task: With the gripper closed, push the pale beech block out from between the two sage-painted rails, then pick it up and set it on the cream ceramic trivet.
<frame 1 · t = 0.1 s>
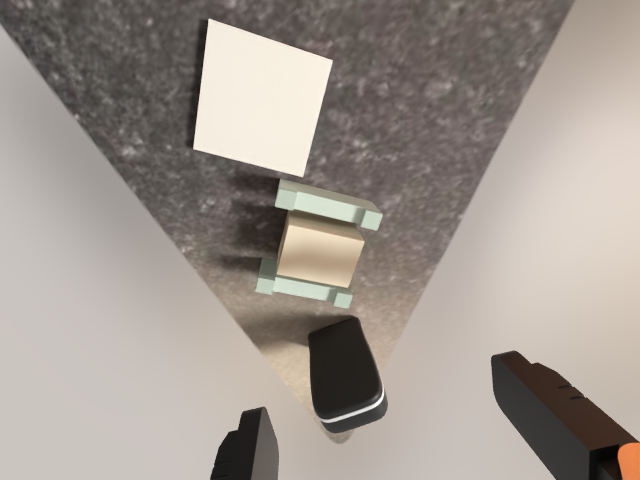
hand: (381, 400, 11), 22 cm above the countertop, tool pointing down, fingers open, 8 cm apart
rails: (313, 237, 32), on the countertop
block: (315, 237, 33), on the countertop
trivet: (261, 106, 27), on the countertop
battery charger: (336, 334, 38), on the countertop
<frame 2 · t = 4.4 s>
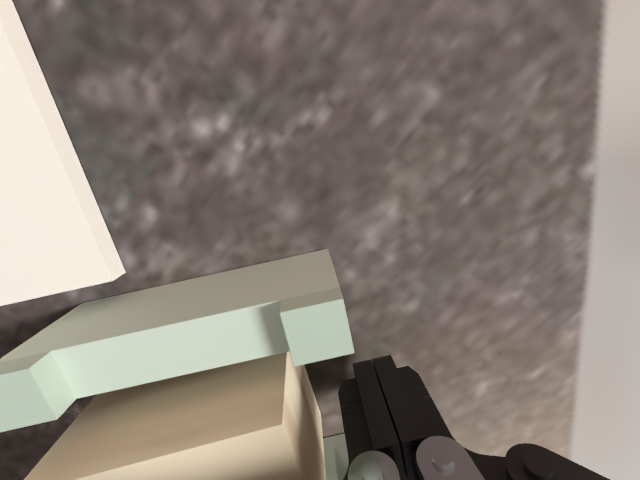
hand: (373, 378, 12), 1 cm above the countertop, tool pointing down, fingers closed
rails: (243, 387, 13), on the countertop
block: (226, 390, 13), on the countertop, touching gripper
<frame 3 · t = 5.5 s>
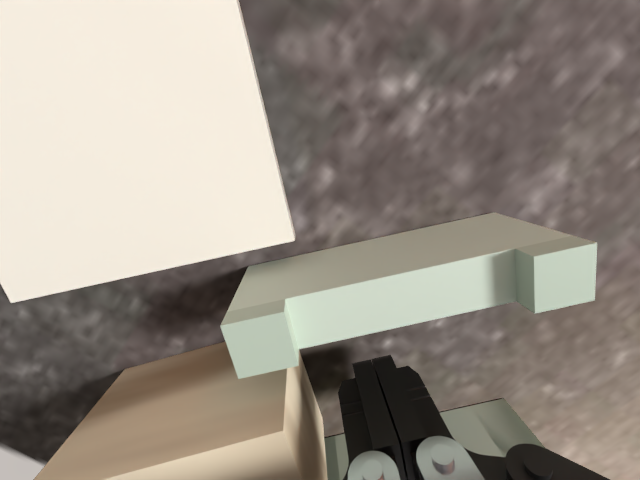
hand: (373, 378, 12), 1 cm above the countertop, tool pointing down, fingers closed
rails: (390, 354, 13), on the countertop
block: (228, 395, 13), on the countertop, touching gripper
trivet: (110, 122, 10), on the countertop
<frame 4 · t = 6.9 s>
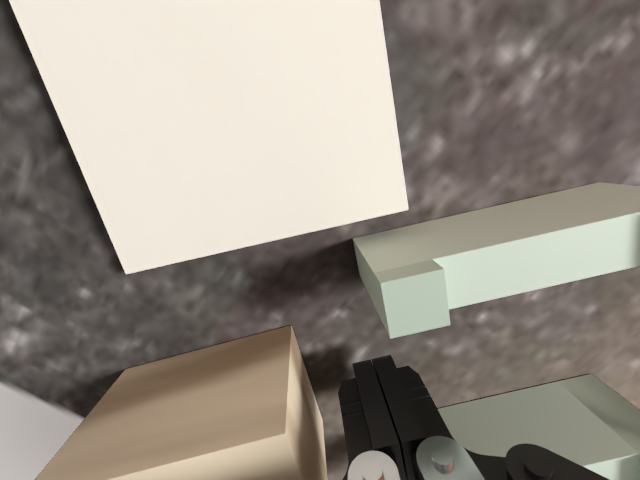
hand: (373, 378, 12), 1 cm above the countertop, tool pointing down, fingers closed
rails: (484, 328, 13), on the countertop
block: (228, 396, 13), on the countertop, touching gripper
trivet: (229, 91, 10), on the countertop
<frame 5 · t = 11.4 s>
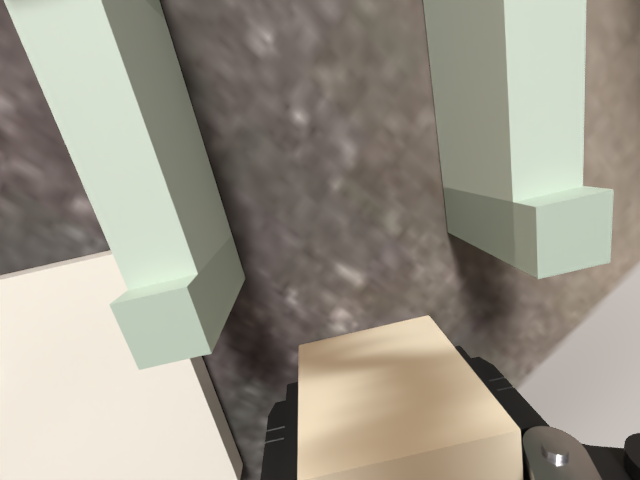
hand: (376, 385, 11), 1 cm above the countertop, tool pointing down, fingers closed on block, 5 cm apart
rails: (316, 111, 9), on the countertop
block: (379, 404, 12), on the countertop, touching gripper
trivet: (74, 395, 11), on the countertop
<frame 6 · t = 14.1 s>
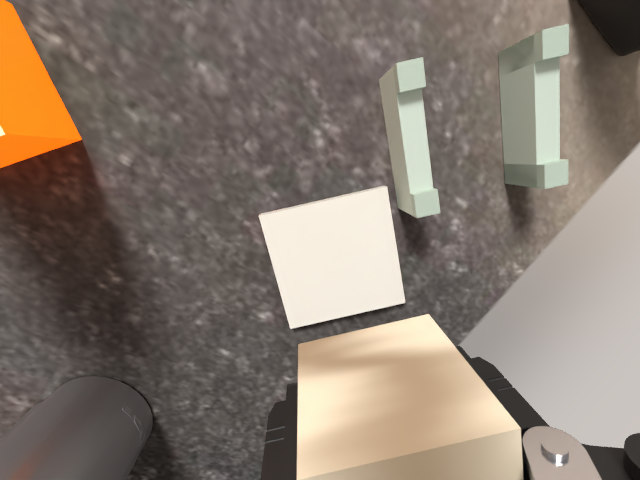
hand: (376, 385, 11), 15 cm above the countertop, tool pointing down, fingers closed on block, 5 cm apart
rails: (455, 132, 23), on the countertop
block: (379, 403, 12), point 14 cm above the countertop, touching gripper
orange juice: (1, 93, 21), on the countertop
trivet: (335, 258, 25), on the countertop
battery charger: (609, 4, 22), on the countertop
when the fingers open (2 cm above the countertop, at t = 16.7 s): block stays where it is, resting on trivet.
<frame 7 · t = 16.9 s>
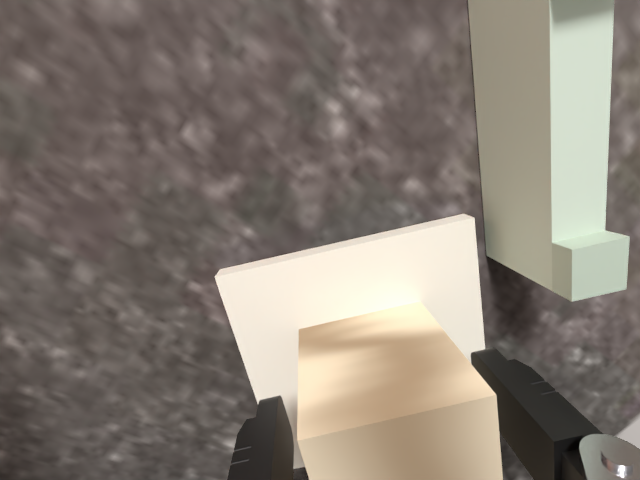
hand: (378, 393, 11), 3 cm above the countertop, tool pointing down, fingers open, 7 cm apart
rails: (613, 107, 12), on the countertop
block: (374, 385, 13), point 1 cm above the countertop, touching trivet
trivet: (363, 346, 14), on the countertop
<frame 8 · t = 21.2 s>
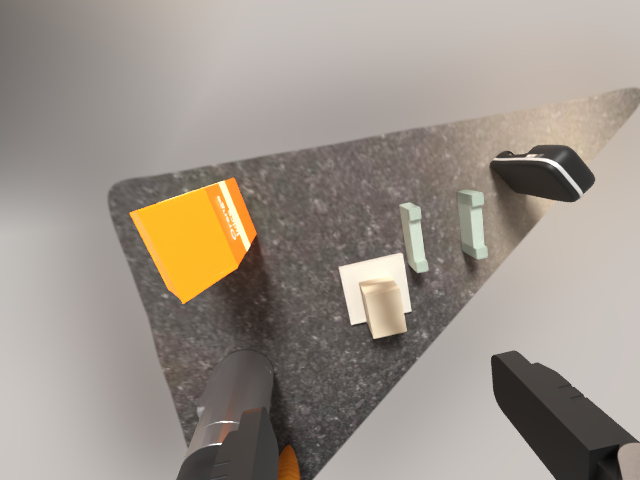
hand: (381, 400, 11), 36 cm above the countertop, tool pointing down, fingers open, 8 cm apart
rails: (436, 227, 47), on the countertop
block: (378, 298, 49), point 1 cm above the countertop, touching trivet
carrot: (288, 444, 57), on the countertop
orange juice: (222, 214, 45), on the countertop
trivet: (375, 288, 49), on the countertop
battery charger: (510, 169, 46), on the countertop
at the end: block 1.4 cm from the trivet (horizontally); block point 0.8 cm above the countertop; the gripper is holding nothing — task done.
